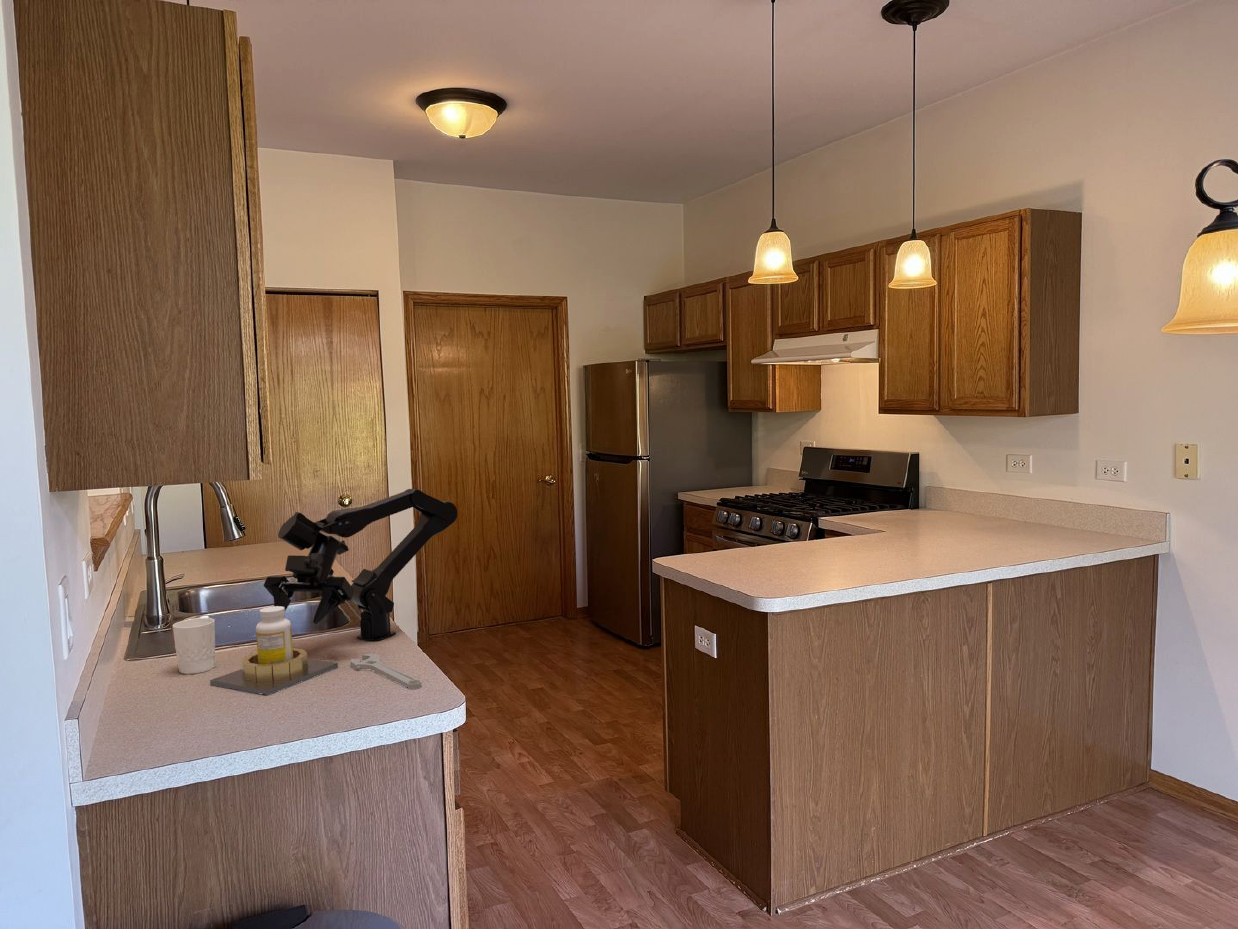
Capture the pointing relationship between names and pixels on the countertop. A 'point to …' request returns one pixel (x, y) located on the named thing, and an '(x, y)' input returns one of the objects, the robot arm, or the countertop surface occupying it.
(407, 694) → the countertop surface
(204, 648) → the white cup
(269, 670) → the ring collar
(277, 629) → the supplement bottle
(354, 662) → the adjustable wrench
